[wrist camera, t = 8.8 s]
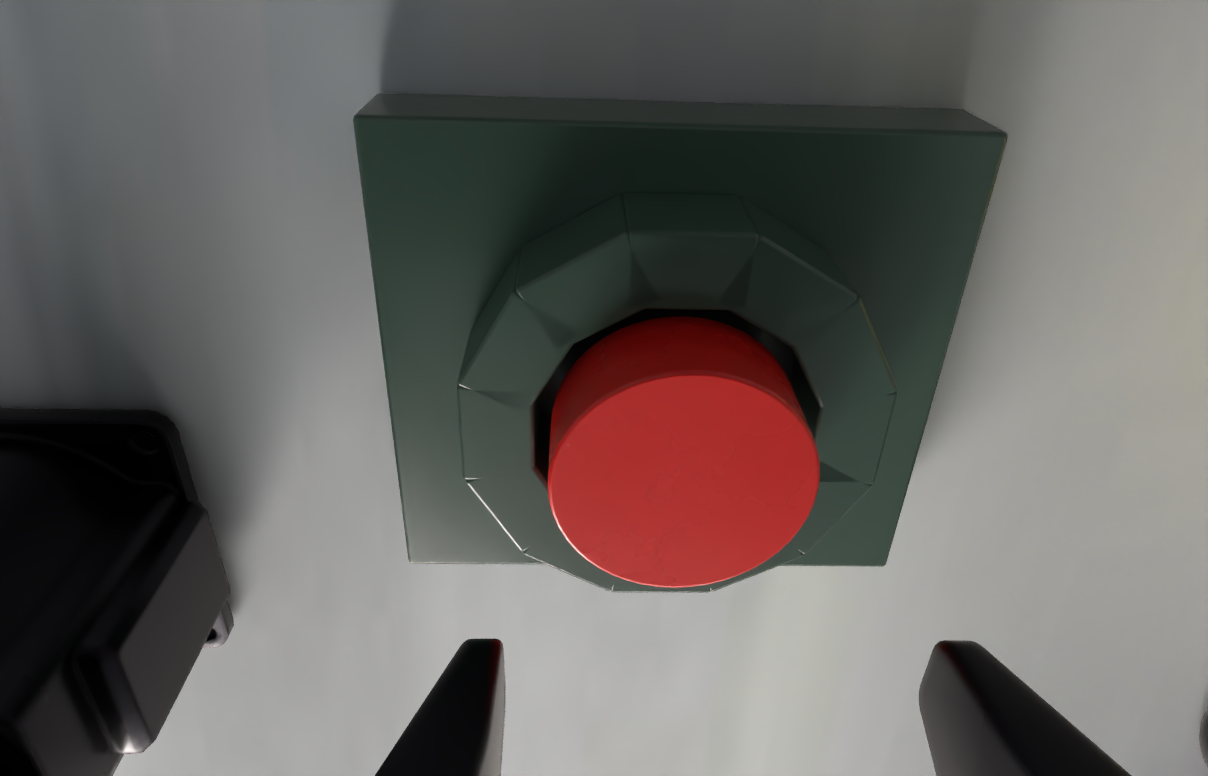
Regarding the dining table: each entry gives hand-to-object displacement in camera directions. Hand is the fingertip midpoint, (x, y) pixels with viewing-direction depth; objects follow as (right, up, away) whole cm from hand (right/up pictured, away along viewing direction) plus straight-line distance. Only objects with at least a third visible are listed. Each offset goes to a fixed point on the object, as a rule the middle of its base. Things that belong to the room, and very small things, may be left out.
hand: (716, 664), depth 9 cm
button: (0, +3, +4) cm, 5 cm away
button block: (0, +4, +7) cm, 8 cm away
